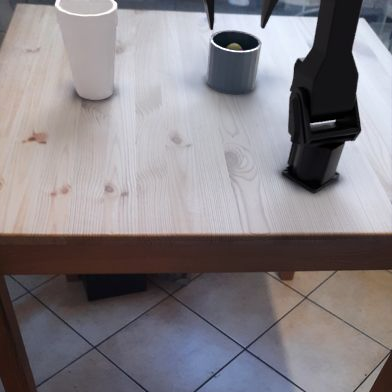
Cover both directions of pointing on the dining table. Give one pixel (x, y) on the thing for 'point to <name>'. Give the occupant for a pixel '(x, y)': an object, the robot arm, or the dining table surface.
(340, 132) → the robot arm
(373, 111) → the dining table surface
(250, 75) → the cup
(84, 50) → the foam cup
